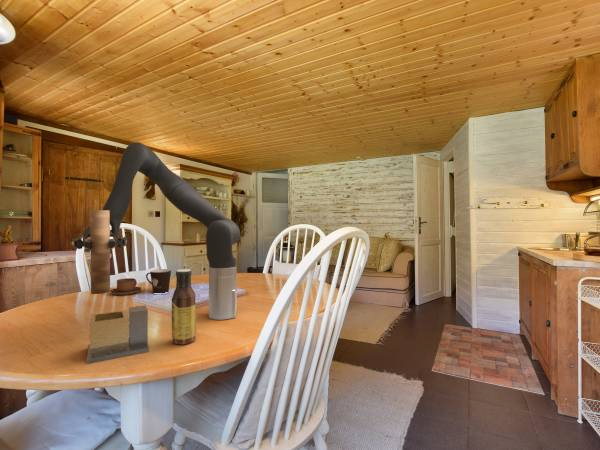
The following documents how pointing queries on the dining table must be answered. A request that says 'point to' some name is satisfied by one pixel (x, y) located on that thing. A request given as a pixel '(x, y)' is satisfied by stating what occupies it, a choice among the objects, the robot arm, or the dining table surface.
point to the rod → (100, 251)
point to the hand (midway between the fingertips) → (100, 244)
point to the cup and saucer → (126, 287)
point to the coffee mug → (160, 280)
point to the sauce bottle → (183, 309)
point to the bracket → (118, 334)
